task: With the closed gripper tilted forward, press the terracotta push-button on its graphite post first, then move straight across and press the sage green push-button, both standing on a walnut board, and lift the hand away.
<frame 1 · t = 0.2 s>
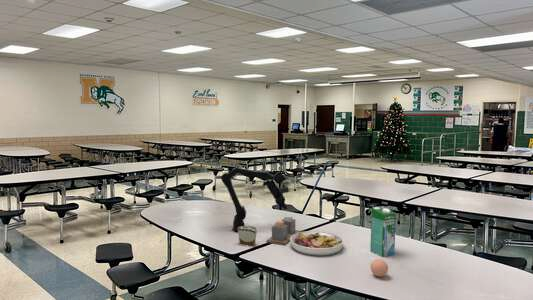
hand: (285, 207, 240), 15 cm above the table, tool tilted 35°, fingers open, 9 cm apart
button posts: (284, 229, 226), on the walnut board, point 5 cm above the table
toy ball: (379, 276, 172), on the table
food container: (249, 244, 214), on the table
walnut board: (284, 237, 226), on the table
bowl: (316, 248, 210), on the table
sage button: (288, 218, 231), point 10 cm above the table, slide at 0.0 cm
milk carton: (382, 253, 201), on the table
terracotta button: (279, 224, 219), point 10 cm above the table, slide at 0.0 cm
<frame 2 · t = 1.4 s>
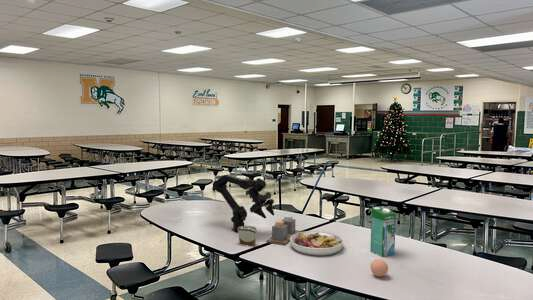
hand: (269, 216, 224), 13 cm above the table, tool tilted 45°, fingers open, 8 cm apart
nothing on the table moved.
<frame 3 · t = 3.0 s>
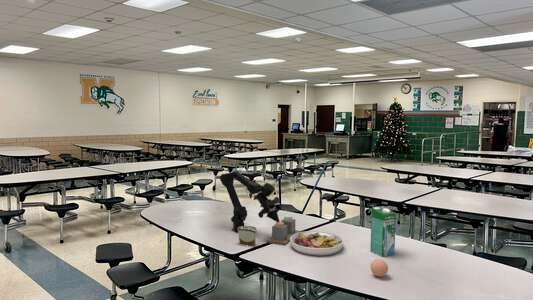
hand: (278, 221, 219), 11 cm above the table, tool tilted 45°, fingers closed
terracotta button: (279, 225, 219), point 10 cm above the table, slide at 0.5 cm
everything else where it was.
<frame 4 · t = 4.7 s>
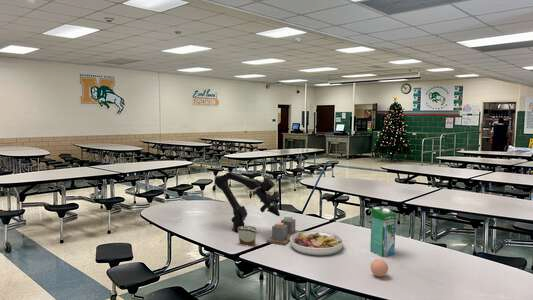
hand: (279, 215, 225), 14 cm above the table, tool tilted 45°, fingers closed
terracotta button: (279, 226, 219), point 9 cm above the table, slide at 1.1 cm
everything else where it was.
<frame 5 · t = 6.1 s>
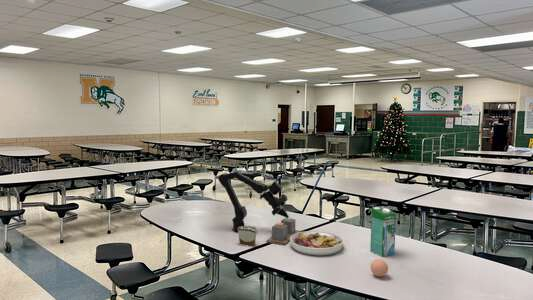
hand: (288, 217, 231), 11 cm above the table, tool tilted 45°, fingers closed, pressing on sage button
sage button: (288, 220, 231), point 9 cm above the table, slide at 1.1 cm, touching gripper
everything else where it was.
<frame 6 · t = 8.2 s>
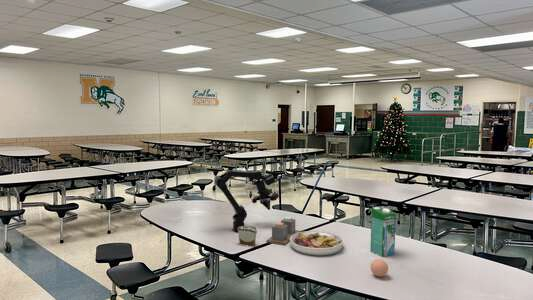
hand: (269, 209, 246), 12 cm above the table, tool tilted 20°, fingers closed
sage button: (288, 220, 231), point 9 cm above the table, slide at 1.1 cm
everything else where it was.
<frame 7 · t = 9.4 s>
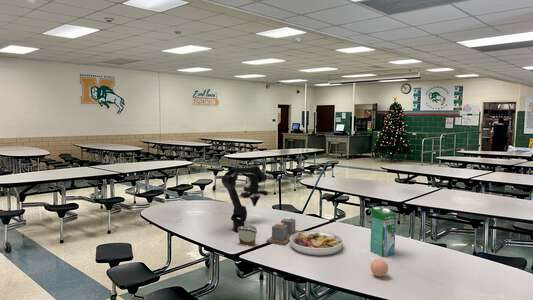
hand: (254, 206, 251), 13 cm above the table, tool pointing down, fingers closed
nothing on the table moved.
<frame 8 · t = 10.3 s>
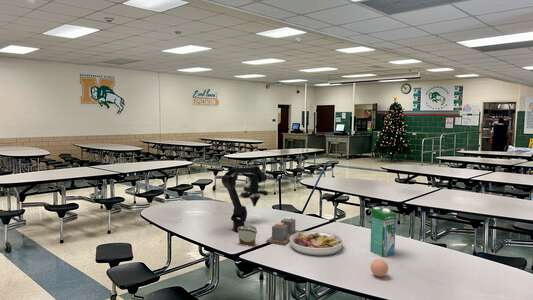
hand: (254, 206, 251), 13 cm above the table, tool pointing down, fingers closed
nothing on the table moved.
at the end: terracotta button slide at 1.1 cm; sage button slide at 1.1 cm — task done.
